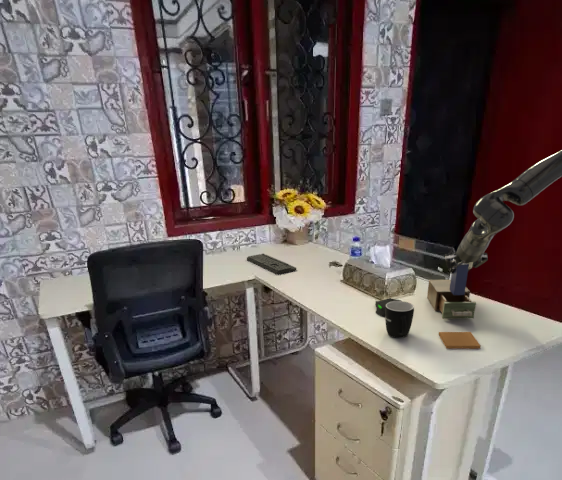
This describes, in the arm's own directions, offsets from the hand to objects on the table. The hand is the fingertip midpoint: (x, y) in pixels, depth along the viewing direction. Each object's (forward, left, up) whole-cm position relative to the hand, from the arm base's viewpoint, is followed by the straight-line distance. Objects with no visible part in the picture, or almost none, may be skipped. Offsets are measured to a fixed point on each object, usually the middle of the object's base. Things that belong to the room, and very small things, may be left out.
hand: (457, 271), depth 145 cm
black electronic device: (+22, -2, -16) cm, 27 cm away
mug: (+22, +20, -16) cm, 34 cm away
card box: (0, +2, -7) cm, 7 cm away
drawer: (0, +4, -15) cm, 15 cm away
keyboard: (+76, -67, -16) cm, 103 cm away
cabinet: (0, -8, -16) cm, 18 cm away
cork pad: (+4, +24, -16) cm, 29 cm away
